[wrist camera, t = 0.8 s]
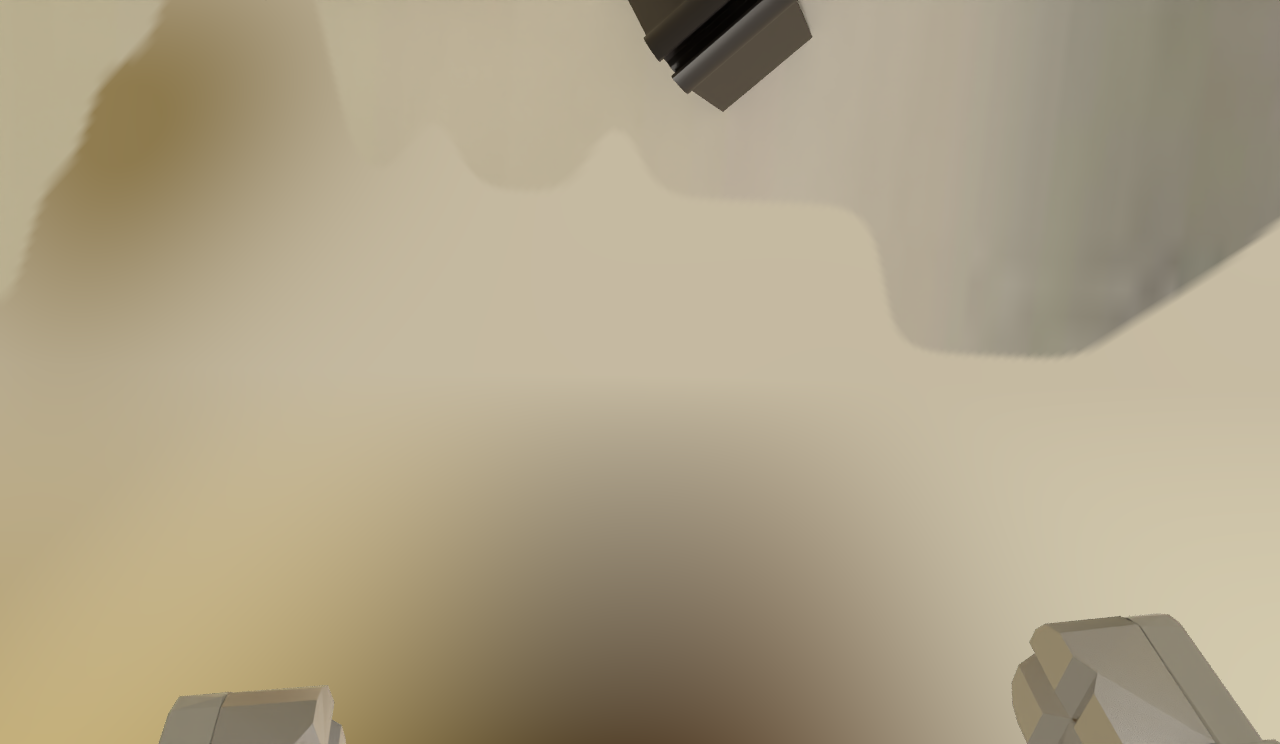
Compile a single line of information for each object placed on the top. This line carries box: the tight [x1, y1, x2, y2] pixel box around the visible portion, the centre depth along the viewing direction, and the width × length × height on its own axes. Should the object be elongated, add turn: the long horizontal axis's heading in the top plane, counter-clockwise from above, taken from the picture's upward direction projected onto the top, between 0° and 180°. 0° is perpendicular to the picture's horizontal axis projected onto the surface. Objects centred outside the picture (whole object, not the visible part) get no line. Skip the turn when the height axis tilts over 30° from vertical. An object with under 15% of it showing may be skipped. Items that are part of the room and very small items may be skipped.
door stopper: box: [628, 0, 812, 111], centre depth 43 cm, size 9×6×12 cm, turn 40°
